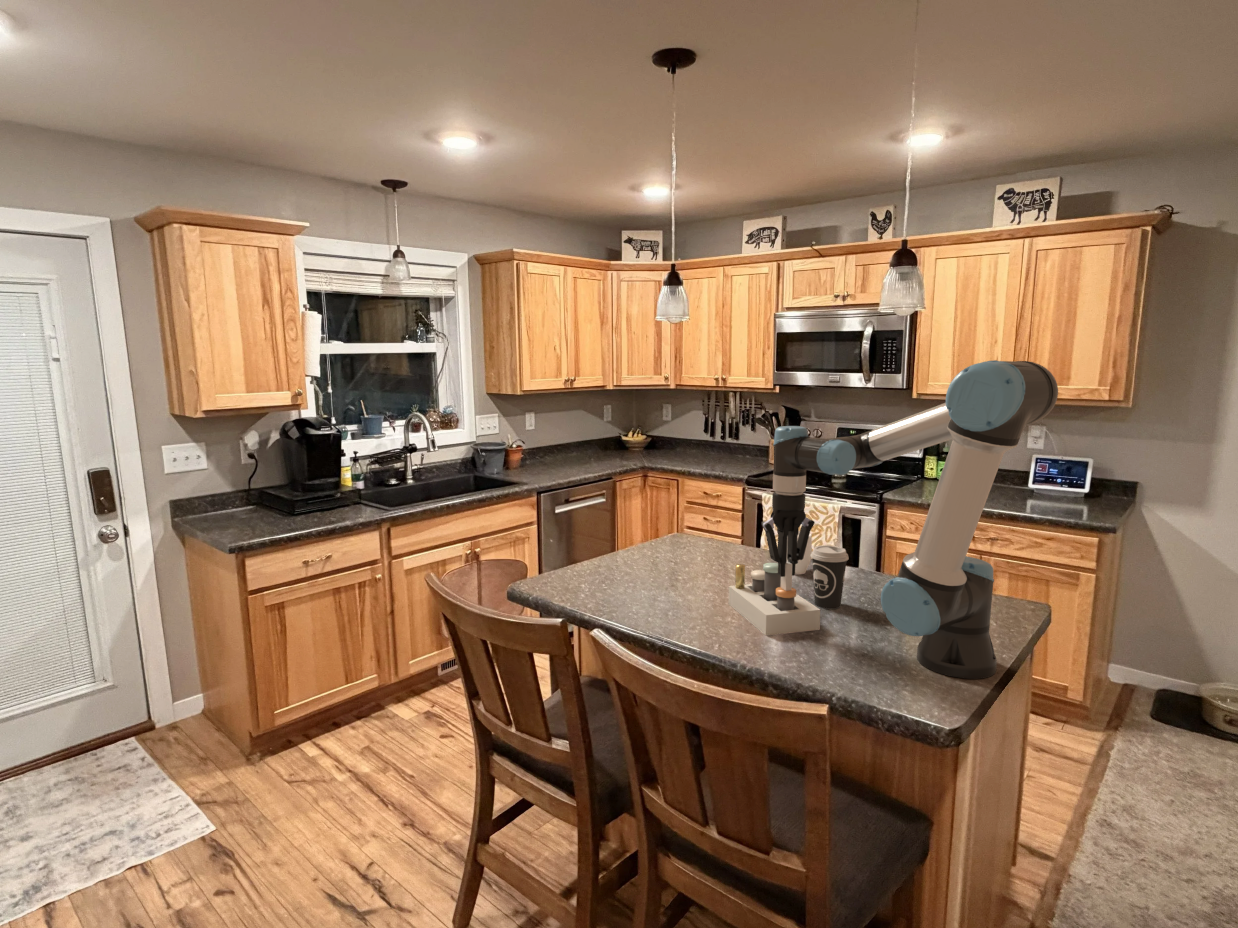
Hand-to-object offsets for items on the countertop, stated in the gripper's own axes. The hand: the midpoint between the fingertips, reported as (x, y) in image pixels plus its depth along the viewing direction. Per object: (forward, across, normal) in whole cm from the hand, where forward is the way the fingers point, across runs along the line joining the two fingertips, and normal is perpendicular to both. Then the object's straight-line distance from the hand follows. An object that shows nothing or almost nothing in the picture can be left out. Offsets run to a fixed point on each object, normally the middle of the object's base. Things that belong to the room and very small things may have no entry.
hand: (785, 588), depth 166 cm
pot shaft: (+5, +5, -16) cm, 17 cm away
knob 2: (+6, 0, -7) cm, 9 cm away
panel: (+10, 0, -7) cm, 12 cm away
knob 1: (+10, 0, -14) cm, 17 cm away
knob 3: (+10, 0, 0) cm, 10 cm away
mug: (+10, -25, -40) cm, 48 cm away
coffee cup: (+10, -18, -11) cm, 23 cm away
